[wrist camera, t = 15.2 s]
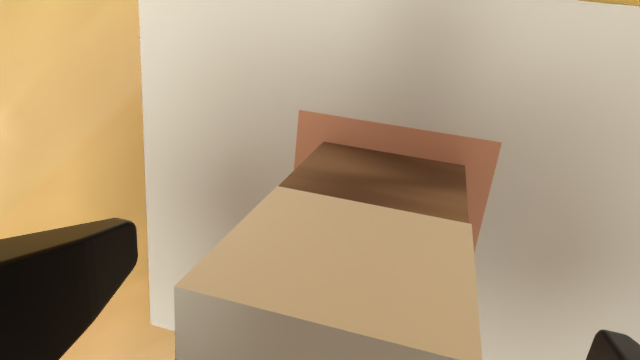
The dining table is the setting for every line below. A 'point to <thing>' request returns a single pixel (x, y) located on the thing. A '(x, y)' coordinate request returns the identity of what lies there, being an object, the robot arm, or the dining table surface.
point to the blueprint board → (413, 138)
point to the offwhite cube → (332, 286)
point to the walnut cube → (384, 180)
